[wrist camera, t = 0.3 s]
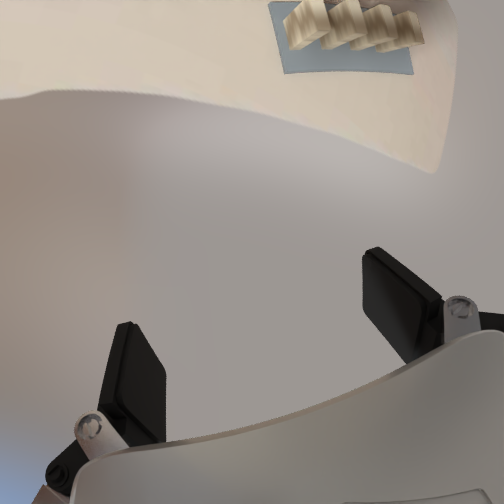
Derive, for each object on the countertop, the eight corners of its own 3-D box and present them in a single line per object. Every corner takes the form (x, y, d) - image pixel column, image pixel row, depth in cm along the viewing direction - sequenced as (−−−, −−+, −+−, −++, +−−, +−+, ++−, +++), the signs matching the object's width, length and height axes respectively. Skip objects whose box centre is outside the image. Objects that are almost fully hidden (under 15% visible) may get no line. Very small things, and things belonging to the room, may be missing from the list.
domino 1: (282, 20, 29) (308, -6, 20) (293, 20, 30) (321, -5, 21) (289, 50, 32) (318, 30, 23) (300, 49, 32) (331, 30, 23)
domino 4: (369, 25, 31) (408, 10, 22) (377, 26, 31) (416, 12, 22) (376, 51, 33) (416, 41, 24) (383, 52, 33) (424, 43, 24)
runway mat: (268, 4, 29) (269, 2, 28) (396, 16, 31) (399, 15, 30) (284, 74, 34) (286, 72, 33) (410, 74, 36) (413, 74, 35)
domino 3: (343, 22, 30) (380, 3, 21) (352, 23, 30) (389, 6, 22) (350, 50, 32) (389, 36, 24) (359, 50, 33) (398, 38, 24)
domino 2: (314, 20, 30) (347, -2, 21) (324, 21, 30) (358, -1, 21) (321, 49, 32) (356, 32, 23) (331, 49, 32) (367, 33, 23)
